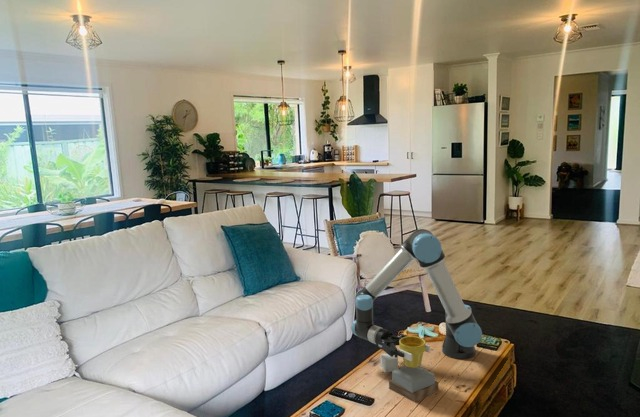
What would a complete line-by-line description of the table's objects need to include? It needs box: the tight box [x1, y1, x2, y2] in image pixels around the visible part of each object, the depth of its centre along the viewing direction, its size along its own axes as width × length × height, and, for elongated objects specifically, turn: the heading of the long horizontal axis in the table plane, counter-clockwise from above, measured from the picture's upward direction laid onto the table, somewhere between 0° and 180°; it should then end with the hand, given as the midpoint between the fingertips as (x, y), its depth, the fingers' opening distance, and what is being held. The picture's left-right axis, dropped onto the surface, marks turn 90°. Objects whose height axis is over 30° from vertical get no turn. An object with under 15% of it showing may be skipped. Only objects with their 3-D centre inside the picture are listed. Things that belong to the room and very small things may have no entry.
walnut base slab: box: [388, 379, 439, 404], centre depth 187 cm, size 14×14×4 cm
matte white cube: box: [380, 352, 399, 373], centre depth 206 cm, size 6×6×6 cm
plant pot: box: [398, 335, 427, 368], centre depth 185 cm, size 10×10×10 cm
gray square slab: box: [391, 365, 436, 393], centre depth 186 cm, size 12×12×4 cm
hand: (420, 353), depth 182 cm, fingers closed on plant pot, 10 cm apart
